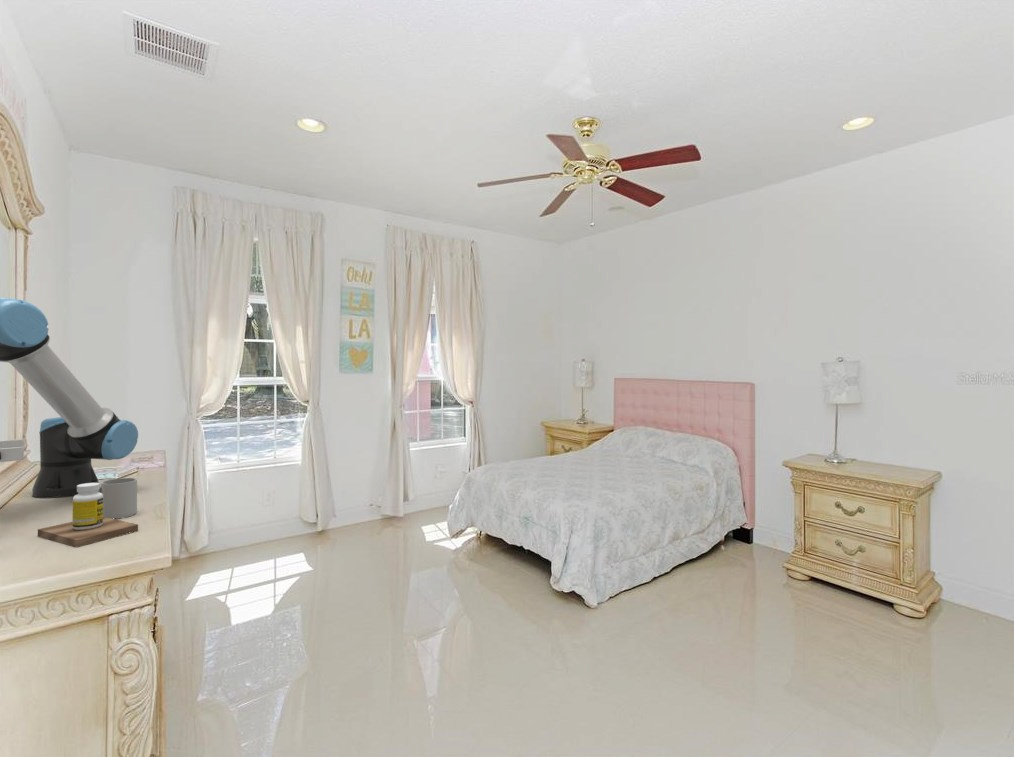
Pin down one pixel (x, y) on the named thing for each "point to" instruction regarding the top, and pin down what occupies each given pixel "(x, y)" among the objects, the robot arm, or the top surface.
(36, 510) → the top surface
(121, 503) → the cup
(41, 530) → the walnut board
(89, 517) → the supplement bottle
